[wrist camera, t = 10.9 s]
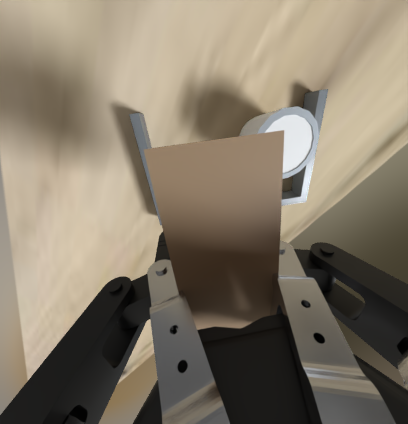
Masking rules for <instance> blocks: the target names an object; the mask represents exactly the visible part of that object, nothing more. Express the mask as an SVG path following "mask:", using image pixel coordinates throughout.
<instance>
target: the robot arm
mask: <svg viewBox="0 0 408 424" xmlns="http://www.w3.org/2000/svg"><path fill="white" fill-rule="evenodd" d="M336 279H338V280H339V281H341V282H342V283H344V284H346V285H347V286H349V287H350V288H352V289H353V290H354V291H356V292H357V293H359V294H360V295H361V296H362V297H363V298H364V300H365V303H363V302H362V301H360V300H359V299H358V298H356V297H355V296H353V295H352V294H350V293H349V292H347V291H346V290H344V289H343V288H342V287H340V286H339V285H337V284H336V283H335V280H336ZM272 286H273V295H272V303H271V308H270V316H265V317H262V318H260V319H258V320H256V321H254V322H253V323H251V324H249V325H247V326H245V327H243V328H228V327H217V326H215V327H209V328H204V329H199V330H197V328H196V325H195V322H194V319H193V316H192V313H191V311H190V308H189V305H188V302H187V299H186V296H185V293H184V292H183V290H181V291H178V289H177V285H176V281H175V277H174V273H173V269H172V265H171V260H170V256H169V252H168V248H167V244H166V240H165V236H164V232H162V233H161V235H160V236H159V241H158V247H157V252H156V258H155V263H153V264H152V265H151V266H150V267H149V269H148V272H147V274H146V275H144V276H142V277H140V278H138V279H135V280H133V281H131V280H130V279H129V278H128V277H118V278H115V279H113V280H111V281H110V282H108V283H107V284H106V285H105V286H104V287H103V289H102V290H101V291H100V292H99V293H98V295H97V296H96V297H95V298H94V300H93V301H92V302H91V303H90V305H89V306H88V307H87V308H86V310H85V311H84V312H83V313H82V315H81V316H80V317H79V318H78V320H77V321H76V322H75V323H74V324H73V326H72V327H71V328H70V329H69V331H68V332H67V333H66V334H65V336H64V337H63V338H62V339H61V341H60V342H59V343H58V344H57V346H56V347H55V348H54V349H53V351H52V352H51V353H50V354H49V356H48V357H47V358H46V359H45V360H44V362H43V363H42V364H41V365H40V367H39V368H38V369H37V370H36V372H35V373H34V374H33V375H32V377H31V378H30V379H29V380H28V382H27V383H26V384H25V385H24V387H23V388H22V389H21V390H20V391H19V393H18V394H17V395H16V397H15V398H14V399H13V400H12V402H11V403H10V404H9V405H8V406H7V408H6V409H5V410H4V411H3V413H2V414H1V415H0V424H98V423H99V421H100V419H101V417H102V415H103V413H104V410H105V408H106V406H107V404H108V402H109V400H110V398H111V396H112V394H113V391H114V389H115V387H116V385H117V383H118V381H119V379H120V377H121V374H122V372H123V370H124V368H125V366H126V364H127V362H128V360H129V357H130V355H131V353H132V351H133V349H134V347H135V345H136V343H137V340H138V338H139V336H140V334H141V332H142V330H143V328H144V326H145V323H146V321H147V320H149V319H151V327H152V335H153V344H154V352H155V360H156V368H157V376H158V380H157V382H156V383H155V385H154V387H153V389H152V390H151V393H150V394H149V396H148V398H147V399H146V401H145V403H144V405H143V407H142V408H141V410H140V412H139V413H138V415H137V417H136V419H135V420H134V422H133V424H408V284H406V283H404V282H402V281H400V280H399V279H397V278H395V277H393V276H391V275H389V274H387V273H385V272H383V271H382V270H379V269H377V268H376V267H374V266H372V265H370V264H368V263H366V262H364V261H362V260H361V259H359V258H357V257H355V256H353V255H351V254H349V253H347V252H345V251H343V250H342V249H340V248H338V247H336V246H333V245H331V244H328V243H315V244H313V245H312V246H311V249H310V250H300V249H299V250H298V249H293V247H292V246H291V245H290V244H289V243H287V242H284V241H280V251H279V273H274V274H273V275H272ZM333 315H334V316H335V317H336V318H338V319H339V320H340V321H341V322H343V323H344V324H345V325H346V326H347V327H348V328H349V329H351V330H352V331H353V332H354V333H355V334H357V335H358V336H359V337H360V338H361V339H363V340H364V341H365V342H366V343H367V344H368V345H370V346H371V347H372V348H373V349H374V350H376V351H377V352H378V353H379V354H380V355H382V356H383V357H384V358H385V359H386V360H387V361H389V362H390V363H391V364H392V365H393V366H395V367H396V368H397V369H398V370H399V372H400V374H401V376H402V377H403V379H404V385H405V388H406V389H407V390H406V389H405V388H403V387H402V386H400V385H399V384H397V383H396V382H394V381H393V380H391V379H390V378H389V377H387V376H385V375H384V374H382V373H381V372H380V371H378V370H376V369H375V368H374V367H372V366H370V365H369V364H368V363H366V362H365V361H363V360H362V359H360V358H359V357H357V356H355V355H354V354H353V353H352V352H351V349H350V347H349V345H348V343H347V342H346V339H345V338H344V336H343V334H342V332H341V330H340V328H339V326H338V324H337V322H336V320H335V318H334V316H333Z"/></svg>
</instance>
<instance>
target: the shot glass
mask: <svg viewBox="0 0 408 424" xmlns="http://www.w3.org/2000/svg"><path fill="white" fill-rule="evenodd" d="M282 130H284V152H283V177H282V179H283V178H288V177H290V176H292V175H294V174H296V173H298V172H300V171H301V170H302V169H303V168H304V167H305V166H306V165H307V164H308V163H309V162H310V160H311V158H312V156H313V154H314V153H315V151H316V149H317V144H318V139H319V130H318V124H317V121H316V119H315V118H314V117H313V115H312V114H311V113H310V111H308V110H305V109H303V108H300V107H298V106H297V107H289V108H282V109H279V110H276V111H272V112H269V113H266V114H262V115H259V116H256V117H254V118H252V119H251V120H249V121H248V122H247V123H246V124H245V125H244V127H243V128H242V130H241V133H240V135H239V136H245V135H252V134H260V133H267V132H274V131H282Z"/></svg>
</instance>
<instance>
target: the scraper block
mask: <svg viewBox="0 0 408 424" xmlns="http://www.w3.org/2000/svg"><path fill="white" fill-rule="evenodd" d="M283 152H284V130H282V131H274V132H267V133H260V134H252V135H245V136H238V137H231V138H223V139H216V140H209V141H201V142H194V143H187V144H180V145H172V146H165V147H158V148H151V149H144V154H145V158H146V162H147V166H148V170H149V174H150V178H151V182H152V186H153V191H154V195H155V199H156V203H157V207H158V211H159V215H160V219H161V223H162V228H163V232H164V236H165V240H166V244H167V248H168V252H169V256H170V260H171V265H172V269H173V273H174V277H175V281H176V285H177V289H178V291H181V290H183V292H184V293H185V296H186V299H187V302H188V305H189V308H190V311H191V313H192V316H193V319H194V322H195V325H196V328H197V330H199V329H204V328H209V327H215V326H217V327H228V328H243V327H245V326H247V325H249V324H251V323H253V322H254V321H256V320H258V319H260V318H262V317H265V316H270V308H271V303H272V295H273V286H272V275H273V274H274V273H279V251H280V226H281V201H282V177H283Z"/></svg>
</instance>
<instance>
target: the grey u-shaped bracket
mask: <svg viewBox="0 0 408 424" xmlns="http://www.w3.org/2000/svg"><path fill="white" fill-rule="evenodd" d="M327 93H328V89H326V90H318V91H314V92H309V93H305V99H304V106H303V109H305V110H308V111H310V113H311V114H312V115H313V117H314V118H315V119H316V121H317V124H318V130H319V133H320V128H321V123H322V118H323V113H324V108H325V103H326V98H327ZM129 116H130V119H131V123H132V126H133V130H134V133H135V137H136V140H137V144H138V148H139V151H140V155H141V158H142V162H143V165H144V169H145V172H146V176H147V179H148V183H149V186H150V190H151V193H152V197H153V201H154V204H155V208H156V211H157V215H158V218H159V222H160V225H162V223H161V219H160V215H159V211H158V207H157V203H156V199H155V195H154V191H153V186H152V182H151V178H150V174H149V170H148V166H147V162H146V158H145V154H144V149H151V148H152V147H151V143H150V139H149V135H148V131H147V127H146V123H145V119H144V115H143V114H142V113H134V114H129ZM315 154H316V151H315V153H314V154H313V156H312V158H311V160H310V162H309V163H308V164H307V165H306V166H305V167H304V168H303V169H302V170H301V171H300V172H298V173H296V174H294V175H293V182H292V189H291V191H286V192H282V201H281V206H283V205H289V204H295V203H302V202H306V200H307V195H308V190H309V185H310V179H311V174H312V169H313V164H314V159H315Z"/></svg>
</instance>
